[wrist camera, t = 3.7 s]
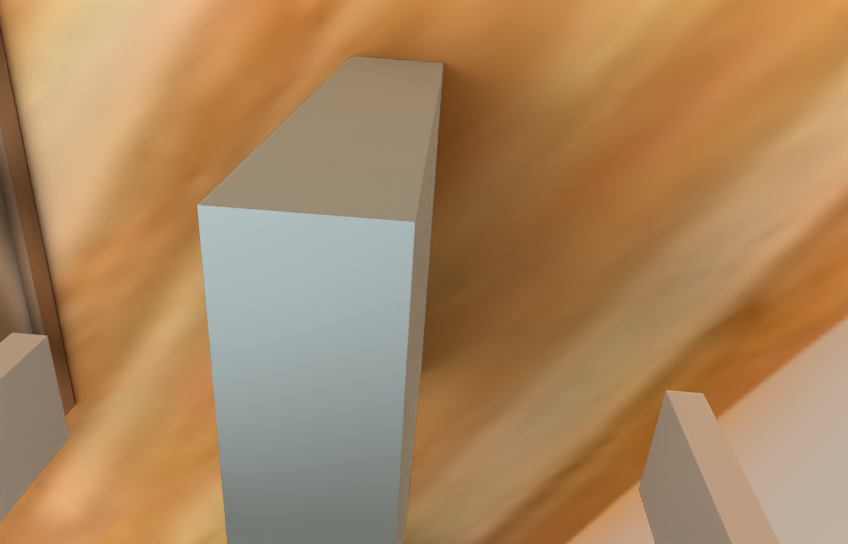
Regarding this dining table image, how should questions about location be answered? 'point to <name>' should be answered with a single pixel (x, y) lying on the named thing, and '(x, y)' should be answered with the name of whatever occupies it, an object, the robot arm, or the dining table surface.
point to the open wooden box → (24, 246)
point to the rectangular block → (324, 309)
